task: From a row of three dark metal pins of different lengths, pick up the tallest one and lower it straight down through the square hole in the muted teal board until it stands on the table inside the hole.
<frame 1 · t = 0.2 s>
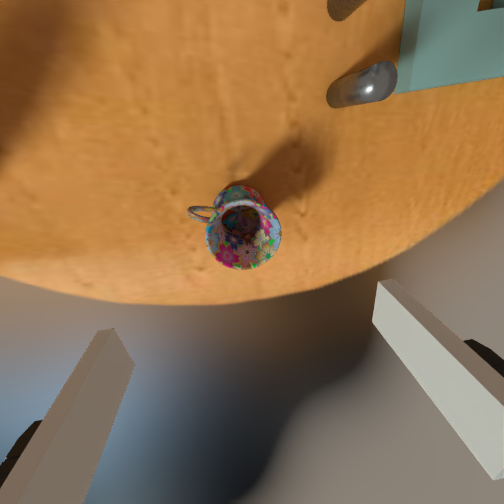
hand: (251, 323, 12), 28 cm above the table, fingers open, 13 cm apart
medium pin: (337, 94, 32), on the table
long pin: (340, 2, 27), on the table
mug: (231, 207, 38), on the table
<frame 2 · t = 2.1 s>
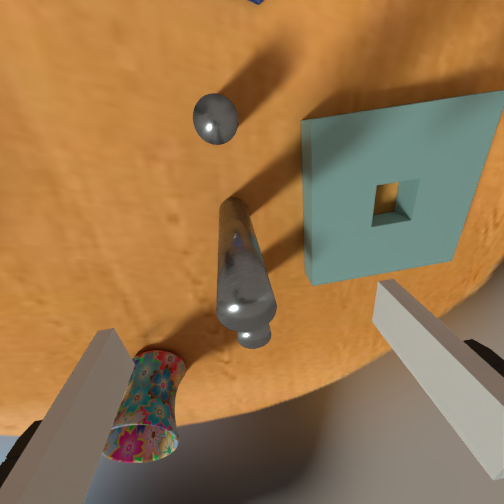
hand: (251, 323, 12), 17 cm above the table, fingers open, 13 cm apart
medium pin: (245, 276, 31), on the table
hole block: (378, 196, 27), on the table
short pin: (217, 121, 22), on the table
long pin: (233, 211, 26), on the table
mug: (150, 361, 37), on the table
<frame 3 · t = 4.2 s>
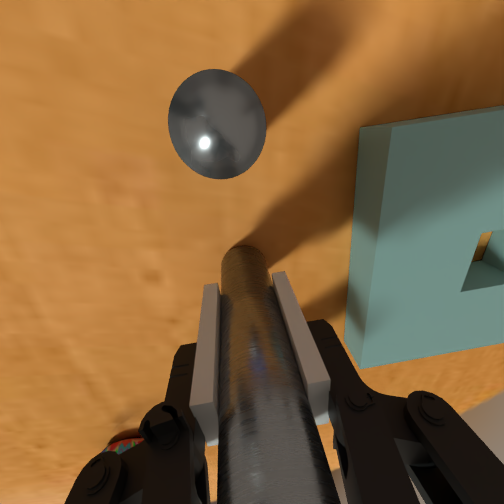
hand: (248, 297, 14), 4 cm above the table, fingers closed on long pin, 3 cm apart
hole block: (463, 240, 18), on the table
short pin: (221, 129, 13), on the table
long pin: (243, 265, 17), on the table, touching gripper
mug: (129, 447, 27), on the table
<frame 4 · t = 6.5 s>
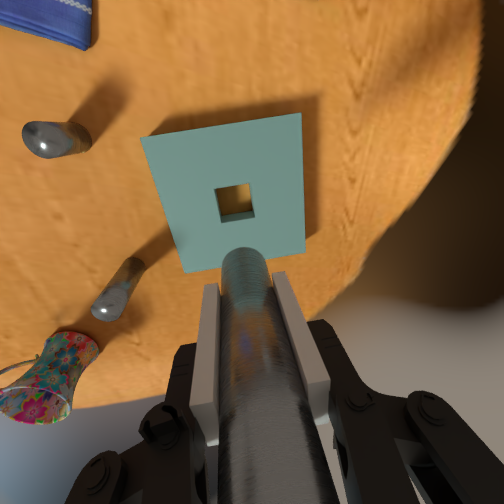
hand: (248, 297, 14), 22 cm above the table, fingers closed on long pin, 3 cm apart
medium pin: (134, 266, 36), on the table
hole block: (234, 197, 33), on the table
short pin: (76, 138, 27), on the table
long pin: (243, 266, 17), point 18 cm above the table, touching gripper
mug: (67, 342, 42), on the table
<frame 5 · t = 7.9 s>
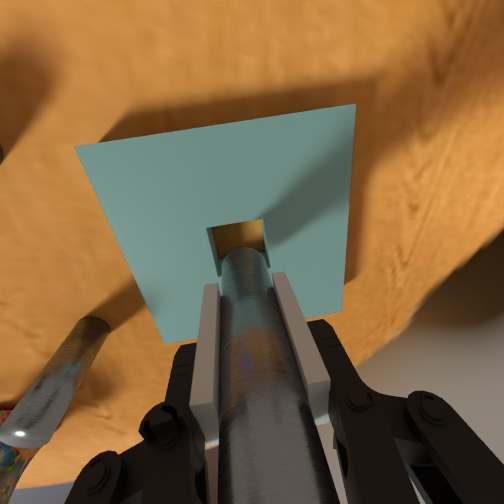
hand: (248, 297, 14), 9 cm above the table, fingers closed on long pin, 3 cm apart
medium pin: (93, 328, 25), on the table
hole block: (238, 234, 22), on the table
long pin: (243, 266, 17), point 6 cm above the table, touching gripper
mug: (9, 419, 31), on the table
when the fingers open (5 cm above the table, at t = 9.1 s): long pin stays where it is, resting in hole block.
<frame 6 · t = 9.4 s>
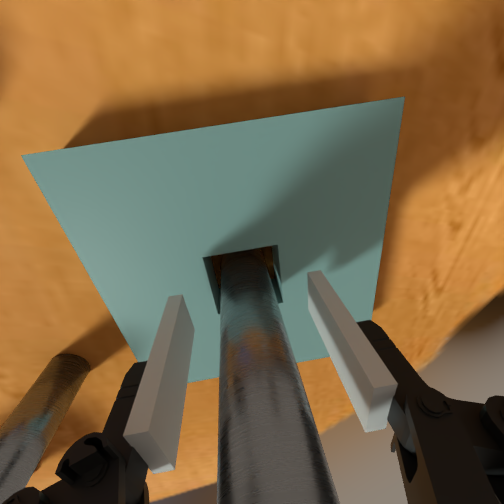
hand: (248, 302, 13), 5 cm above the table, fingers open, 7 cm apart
medium pin: (70, 366, 21), on the table
hole block: (242, 258, 18), on the table
long pin: (242, 259, 18), resting in hole block
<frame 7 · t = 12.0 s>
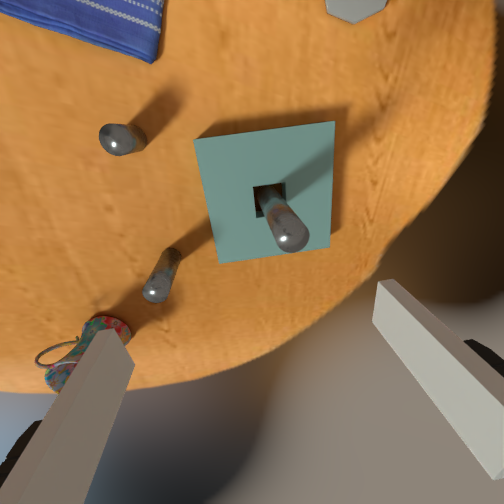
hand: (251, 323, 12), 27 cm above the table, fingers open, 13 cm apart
medium pin: (171, 256, 39), on the table
hole block: (267, 195, 36), on the table
short pin: (134, 138, 31), on the table
long pin: (267, 195, 36), resting in hole block
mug: (102, 327, 45), on the table
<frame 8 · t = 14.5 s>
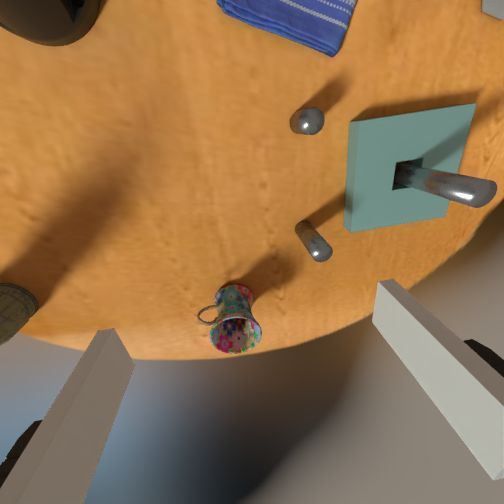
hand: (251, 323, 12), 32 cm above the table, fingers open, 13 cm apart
medium pin: (303, 228, 45), on the table
hole block: (395, 171, 42), on the table
short pin: (299, 122, 36), on the table
long pin: (395, 172, 42), resting in hole block
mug: (227, 296, 51), on the table
thermos: (13, 300, 46), on the table
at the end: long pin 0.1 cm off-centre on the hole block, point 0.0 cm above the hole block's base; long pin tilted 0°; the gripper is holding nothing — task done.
